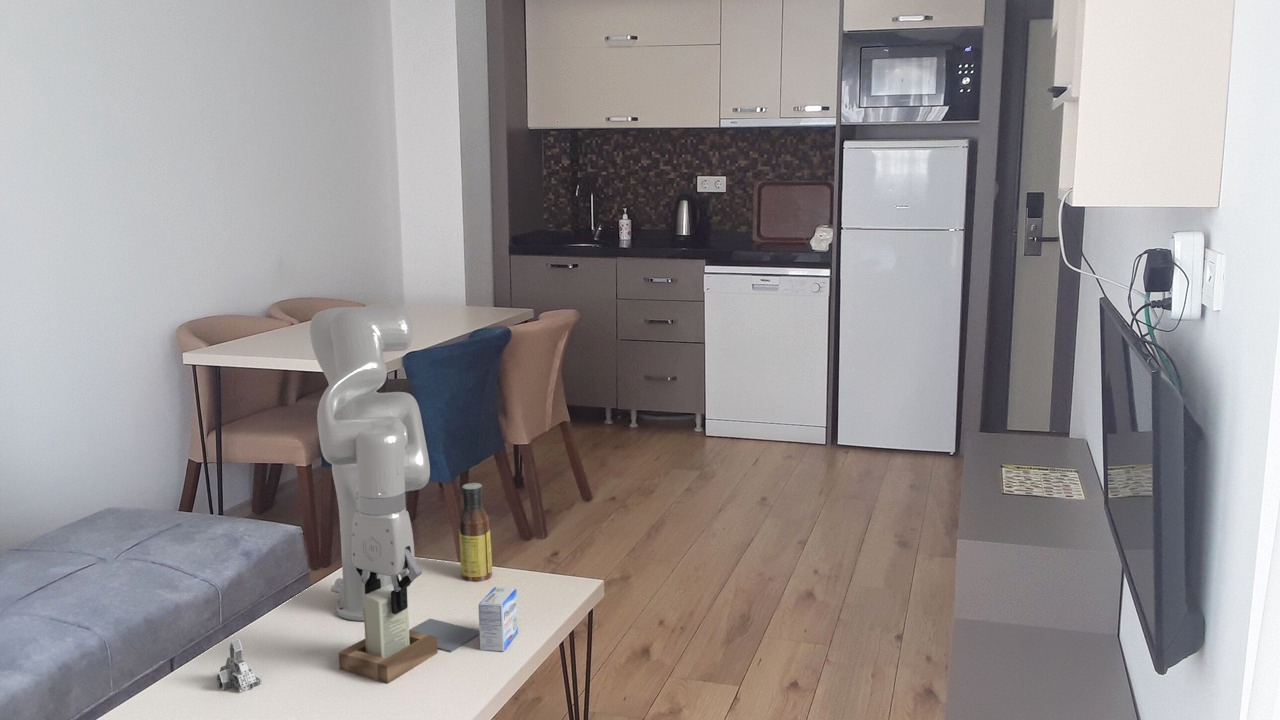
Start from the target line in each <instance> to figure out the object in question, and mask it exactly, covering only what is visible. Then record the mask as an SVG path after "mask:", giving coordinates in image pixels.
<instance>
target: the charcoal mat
mask: <svg viewBox="0 0 1280 720" xmlns="http://www.w3.org/2000/svg"><path fill="white" fill-rule="evenodd" d="M409 630H411V631H415V632H419V633H423V634H427V635H431V636H435V637H437V650H438V651H439V650H440V651H444V652H447V653H453V652H454V651H456V650H457V649H459V648H460V647H462V646H464V645H465V644H467V643H469V642H470V641H471V640H473V639H475V638H477V637H478V636H480V632H479V629H475V628H470V627H467V626H463V625H458V624H454V623H452V622H451V623H450V622H446V621H443V620H439V619H435V618H428V619H426V620H425V621H422V622H421V623H419V624H417V625H415V626H413V627H412V628H409Z"/></svg>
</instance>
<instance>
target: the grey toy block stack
mask: <svg viewBox="0 0 1280 720" xmlns="http://www.w3.org/2000/svg"><path fill="white" fill-rule="evenodd" d="M242 650H243V647H242V643H241V640H240V638H237V639H233V640H231V643H230V646H229V657H227V659H226V661H225V665H222V666H220V668H219V672H218V674H216V680H217V685H218V686H217V687H218V689H220V688H222V692H224V691H227V690H229V689H231V687H232V688H234V690H236V691H237V692H239V694H242V693H244V692H246V691H249V690H251V689H254V688H255V687H258V686H261V685H262V678H259V677H258V676H256V675H255V673H254V670H253V669H251V668H250V667H248V666H249V665H248V663H247V661H246V660H244V659H243V651H242Z"/></svg>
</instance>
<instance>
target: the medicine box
mask: <svg viewBox="0 0 1280 720" xmlns="http://www.w3.org/2000/svg"><path fill="white" fill-rule="evenodd" d="M517 595H518V593H517V588H515V587H508V586H507V587H505V586H504V587H503V586H495V587H493V588H491V590H490V591H489V592H488V594H487V595H485V597H484V598H483V599H482V600H480V602H479V603H478V624H479V625H478V627H479V628H478V630H479V632H480V635H479V645H480V648H479V649H480V650H481V651H487V652H488V651H490V652H505V651H506V650H507V648H508V647H509V645H510V644H511V643H512V641H513V640H514V639H515V638H516V636H517V635H518V632H519V629H518V628H519V627H518V625H519V624H518V621H519V619H518V599H517V597H518V596H517Z"/></svg>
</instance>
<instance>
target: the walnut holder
mask: <svg viewBox="0 0 1280 720" xmlns="http://www.w3.org/2000/svg"><path fill="white" fill-rule="evenodd" d="M409 639H410V645H409V646H407V647H405V648H403V649H402V650H400V651H398V652H396V653H395V654H393V655H391V656H389V657H388V658H383V657H379V656H375V655H372V654H368V653H366V645H365V638H363V639H362V640H359V641H358V642H356V643H354V644H352V645H350V646H348V647H346V648H345V649H342V650H341V651H339V652H338V663H339V666H338V667H339V670H340V671H343V672H346V673H350V674H353V675H358V676H361V677H364V678H368V679H372V680H374V681H378V682H381V683H385V684H389V683H391V682H393V681H395V680H397V678H400V677H401V676H403V675H405V674H407V673H408V672H410V671H411V670H413V669H414V668H416V667H418V666H419V665H421V664H423V663H424V662H426V661H428V660H429V659H431V658H432V657H434V656H436V655H437V654H438V651H439V649H437V637H435V636H431V635H427V634H423V633H419V632H415V631H411V630H410V629H409Z"/></svg>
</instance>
